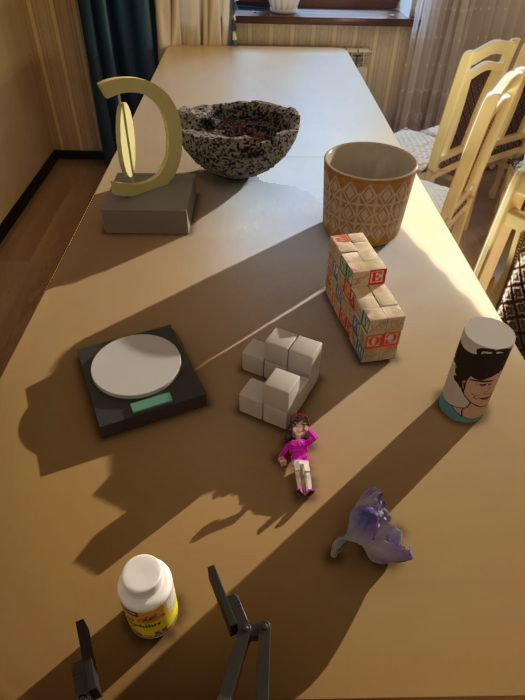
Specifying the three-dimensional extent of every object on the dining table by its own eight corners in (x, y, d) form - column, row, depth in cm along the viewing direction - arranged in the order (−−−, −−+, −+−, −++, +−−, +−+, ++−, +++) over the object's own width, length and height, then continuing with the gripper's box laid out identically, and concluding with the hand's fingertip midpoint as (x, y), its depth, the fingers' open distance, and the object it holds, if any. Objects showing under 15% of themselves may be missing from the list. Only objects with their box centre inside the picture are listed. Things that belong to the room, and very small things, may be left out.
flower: (339, 571, 57) (405, 504, 58) (303, 526, 65) (362, 467, 66) (380, 612, 61) (441, 549, 63) (342, 565, 69) (397, 509, 70)
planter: (402, 213, 129) (416, 145, 118) (403, 257, 115) (420, 184, 103) (321, 206, 131) (328, 138, 120) (313, 247, 117) (319, 175, 106)
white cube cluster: (253, 355, 92) (253, 318, 86) (318, 379, 88) (322, 342, 82) (216, 401, 84) (214, 364, 78) (286, 430, 80) (288, 393, 74)
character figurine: (323, 499, 72) (312, 423, 80) (326, 481, 68) (314, 403, 76) (281, 502, 72) (273, 425, 80) (282, 484, 68) (273, 406, 76)
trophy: (121, 194, 134) (97, 61, 114) (196, 195, 134) (186, 63, 114) (105, 232, 121) (75, 89, 100) (188, 233, 121) (175, 91, 100)
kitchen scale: (102, 438, 78) (98, 423, 76) (79, 359, 90) (75, 345, 88) (206, 404, 83) (205, 390, 81) (172, 334, 95) (170, 320, 93)
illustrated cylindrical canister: (453, 426, 81) (482, 352, 70) (431, 394, 85) (455, 321, 75) (492, 417, 82) (526, 344, 72) (468, 386, 87) (497, 313, 77)
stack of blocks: (396, 359, 91) (410, 300, 83) (360, 364, 90) (371, 305, 82) (354, 286, 107) (362, 231, 98) (324, 289, 106) (330, 234, 97)
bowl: (320, 172, 145) (325, 114, 135) (237, 212, 128) (235, 150, 118) (238, 139, 161) (237, 86, 151) (154, 171, 144) (147, 113, 134)
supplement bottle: (120, 634, 59) (102, 593, 52) (140, 584, 63) (126, 540, 56) (169, 646, 58) (157, 607, 51) (186, 595, 62) (177, 552, 55)
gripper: (68, 952, 40) (33, 664, 54) (356, 780, 48) (259, 567, 62) (41, 954, 35) (10, 635, 49) (368, 761, 43) (260, 534, 57)
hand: (149, 597), depth 56 cm, fingers open, 13 cm apart
